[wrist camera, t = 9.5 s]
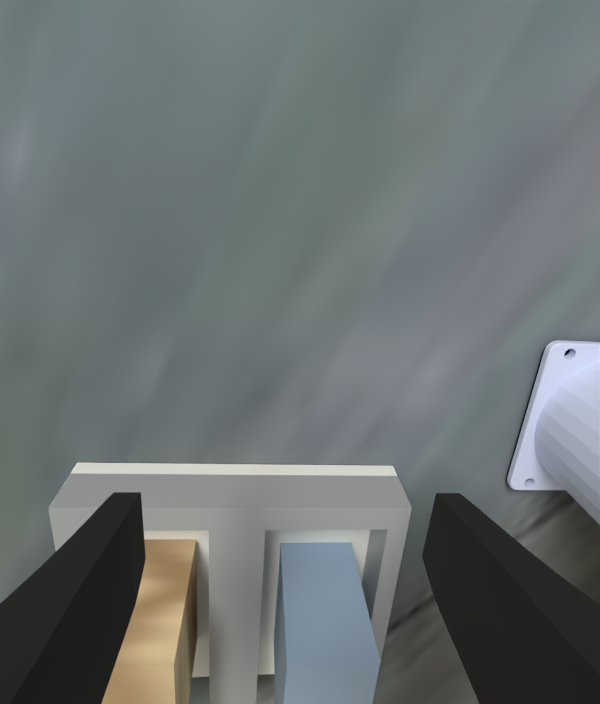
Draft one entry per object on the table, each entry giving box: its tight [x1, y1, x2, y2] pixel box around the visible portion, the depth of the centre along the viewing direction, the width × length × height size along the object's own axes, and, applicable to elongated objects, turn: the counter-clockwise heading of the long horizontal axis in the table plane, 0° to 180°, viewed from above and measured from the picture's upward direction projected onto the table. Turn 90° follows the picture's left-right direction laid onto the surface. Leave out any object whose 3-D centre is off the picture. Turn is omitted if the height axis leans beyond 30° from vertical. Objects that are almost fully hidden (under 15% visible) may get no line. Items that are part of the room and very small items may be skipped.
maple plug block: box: [102, 539, 197, 704], centre depth 20 cm, size 4×7×6 cm, turn 176°
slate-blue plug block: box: [274, 542, 381, 704], centre depth 21 cm, size 4×7×6 cm, turn 176°
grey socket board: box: [48, 463, 412, 704], centre depth 22 cm, size 15×14×3 cm
